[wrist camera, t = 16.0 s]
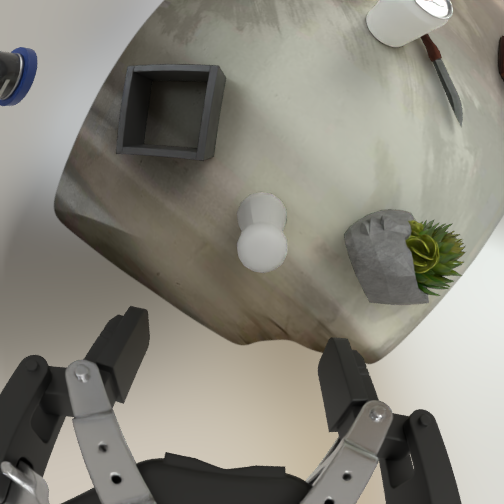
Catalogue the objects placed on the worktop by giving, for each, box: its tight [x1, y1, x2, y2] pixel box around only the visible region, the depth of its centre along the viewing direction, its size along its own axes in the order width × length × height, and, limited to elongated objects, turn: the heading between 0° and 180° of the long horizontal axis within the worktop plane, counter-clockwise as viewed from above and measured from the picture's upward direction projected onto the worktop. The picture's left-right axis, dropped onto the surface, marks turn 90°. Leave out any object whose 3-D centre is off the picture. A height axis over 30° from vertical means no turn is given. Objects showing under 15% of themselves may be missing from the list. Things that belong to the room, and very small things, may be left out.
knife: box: [421, 34, 462, 127], centre depth 23 cm, size 18×2×3 cm, turn 27°
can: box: [366, 0, 453, 47], centre depth 18 cm, size 6×6×12 cm
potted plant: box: [344, 209, 465, 305], centre depth 30 cm, size 12×13×15 cm
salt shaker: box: [237, 192, 287, 273], centre depth 28 cm, size 6×6×13 cm
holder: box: [116, 64, 226, 161], centre depth 27 cm, size 10×10×6 cm
